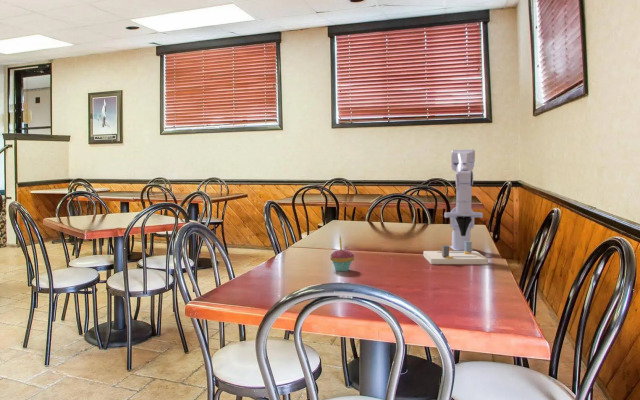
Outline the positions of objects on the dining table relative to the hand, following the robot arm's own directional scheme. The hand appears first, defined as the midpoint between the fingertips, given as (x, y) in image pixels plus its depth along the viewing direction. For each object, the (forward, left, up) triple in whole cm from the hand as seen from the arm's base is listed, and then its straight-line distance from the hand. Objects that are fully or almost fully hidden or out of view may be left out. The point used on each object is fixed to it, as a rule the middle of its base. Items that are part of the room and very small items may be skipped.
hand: (463, 235), depth 183 cm
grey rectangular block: (+1, +2, -6) cm, 7 cm away
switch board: (+6, -5, -9) cm, 11 cm away
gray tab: (+10, -9, -6) cm, 15 cm away
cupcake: (+23, -48, -9) cm, 54 cm away
